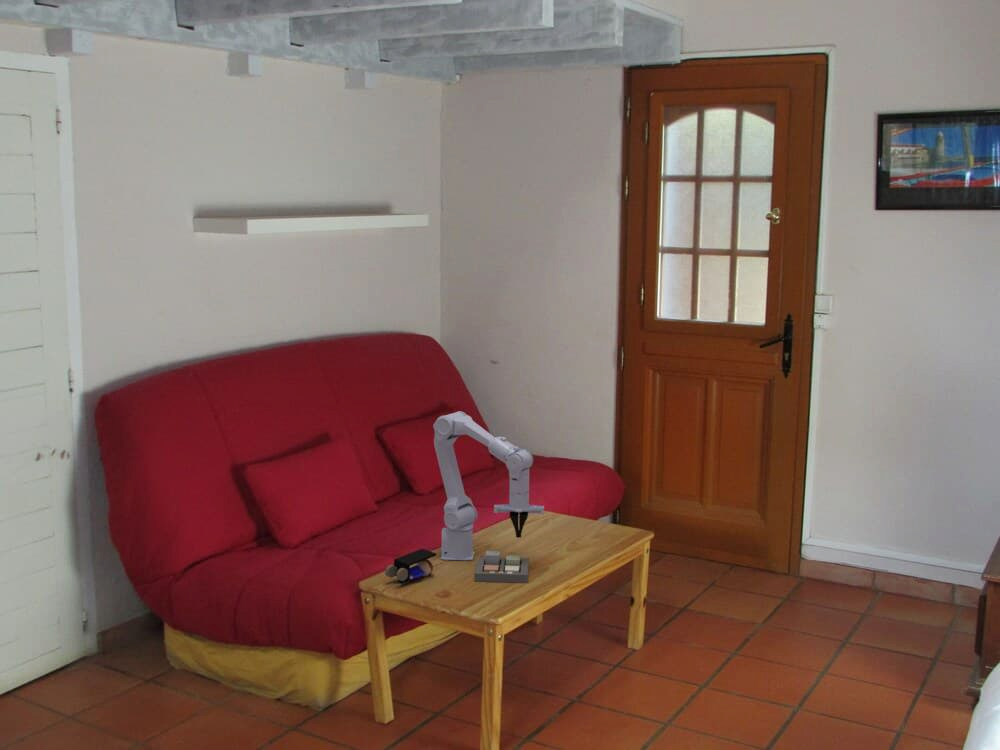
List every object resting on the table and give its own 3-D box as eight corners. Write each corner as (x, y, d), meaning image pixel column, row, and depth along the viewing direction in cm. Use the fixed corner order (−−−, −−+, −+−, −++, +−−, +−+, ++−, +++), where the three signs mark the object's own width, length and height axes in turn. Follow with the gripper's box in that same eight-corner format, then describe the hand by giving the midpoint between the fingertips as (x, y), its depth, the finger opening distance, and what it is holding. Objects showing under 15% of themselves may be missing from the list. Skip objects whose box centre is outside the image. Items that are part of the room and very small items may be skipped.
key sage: (505, 569, 335) (505, 559, 334) (506, 565, 339) (506, 555, 338) (519, 570, 335) (519, 559, 334) (520, 565, 338) (520, 555, 338)
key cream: (504, 576, 329) (504, 570, 329) (505, 572, 333) (505, 565, 332) (518, 577, 329) (518, 570, 328) (519, 572, 333) (519, 566, 332)
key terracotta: (483, 576, 329) (483, 569, 329) (484, 571, 333) (484, 565, 333) (497, 576, 329) (497, 569, 329) (498, 572, 333) (498, 565, 333)
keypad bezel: (474, 581, 327) (474, 572, 327) (478, 564, 342) (478, 556, 341) (527, 583, 326) (527, 574, 326) (528, 565, 341) (528, 557, 340)
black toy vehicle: (402, 593, 321) (439, 575, 332) (399, 568, 319) (437, 550, 330) (385, 588, 325) (422, 569, 336) (383, 563, 323) (420, 545, 334)
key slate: (485, 565, 335) (485, 555, 334) (486, 561, 339) (486, 550, 338) (499, 566, 335) (499, 555, 334) (499, 561, 339) (499, 551, 338)
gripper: (493, 494, 331) (493, 540, 333) (543, 495, 330) (543, 541, 332) (495, 488, 338) (494, 532, 340) (544, 489, 337) (543, 534, 339)
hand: (518, 536), depth 337 cm, fingers closed
